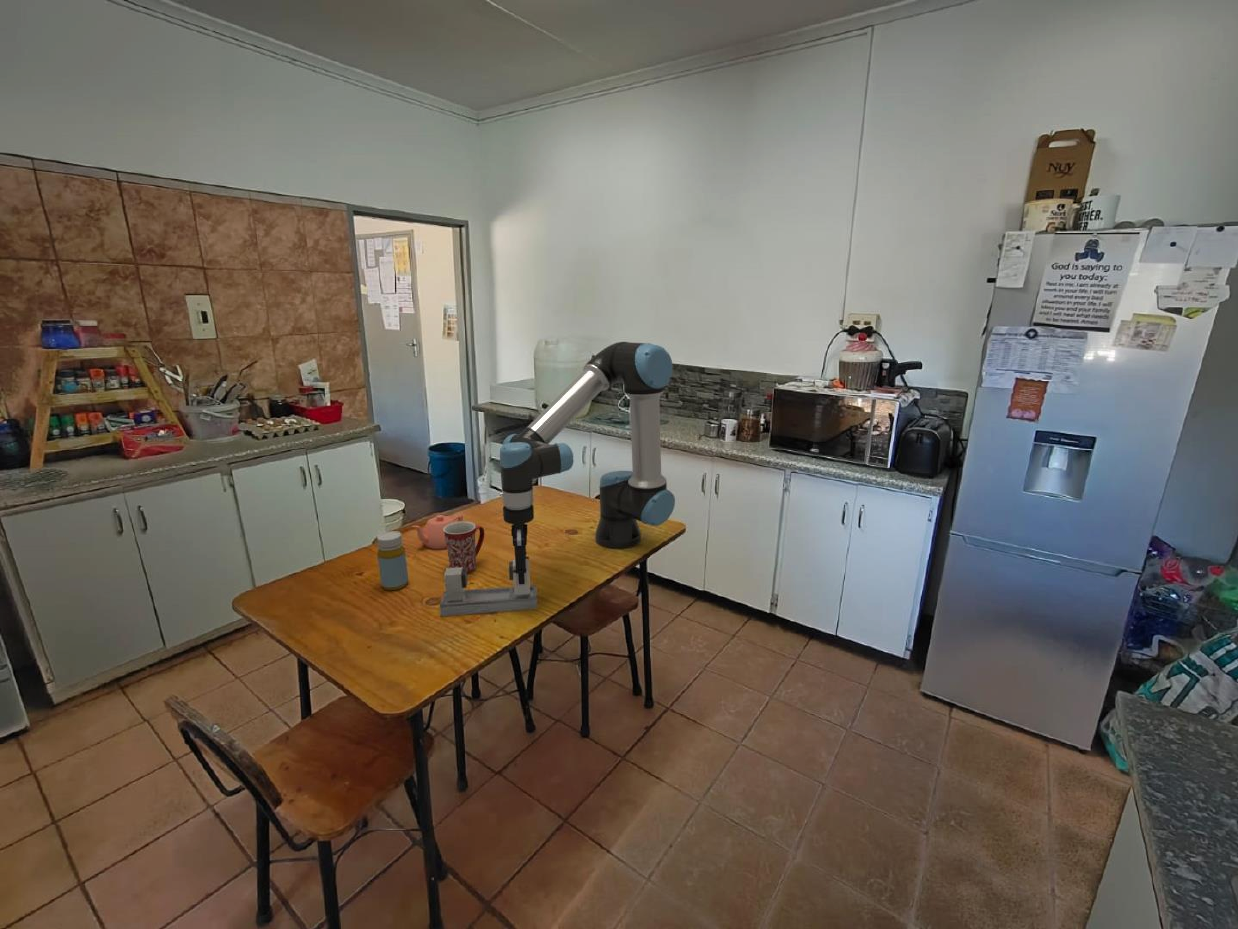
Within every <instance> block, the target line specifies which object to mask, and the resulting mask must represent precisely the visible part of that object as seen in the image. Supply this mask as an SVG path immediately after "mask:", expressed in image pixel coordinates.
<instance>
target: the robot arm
mask: <svg viewBox="0 0 1238 929" xmlns="http://www.w3.org/2000/svg"><path fill="white" fill-rule="evenodd" d="M672 360H673V359H672V358H671V355H670V354H669V352H668V350H666V349H665V348H664V347H663V346H661V345H657V344H653V343H650V342H649V343H647V342H632V341H631V342H630V341H629V342H628V341H619V342H615V343H612V344H610V345H608V346H607V347H605V348H603V349H602V350H600V351H599V352H598V353H597V354H595V355H594V356H593V357H592V358H590V359H589V361H588V362H586V363H585V364H584V366H583V369H582V370H583V371H582V372H581V373H580V374H579V376H577V378H575V379H574V380H573V381H572V382H571V383H570V384H569V385H568V386H567V387H566V388H565V389H564V390H563V391H562V392H561V393H560V394H559V395H557V397H556V398H555V399H554V400H553V401H552V402H551V403H550V404H549V405H548V406H547V407H546V408H545V409H544V410H543V411H542V412H541V413H539V415H538V416H537V417H536V418H535V419H534V420H533V421H532V422H531V423H530V424H529V425H528V426H526V427H525V428H524V430H522V431H521V432H520V433H512V434H510V435H508V436H507V437H506V438H505V439H504V440H503V442H502V446H501V447H500V450H499V467H500V468H499V469H500V481H501V482H500V483H501V492H500V493H499V497H501V498H502V505H503V507H502V514H503V521H504V522H505V523H507V524H509V525H510V524H511V529H510V532H511V536H512V545H513V547H514V559H515V565H516V570H513V573H516V584H517V595H521V594H528V587H527V569H526V559H528V558H529V559H530V557H529V556H527V553H528V552H527V547H526V546H527V545H528V542H527V541H528V523H531V522H532V521H533V520H534V518H535V515H534V514H535V511H534V510H535V508H534V505H533V504H534V488H533V485H534V484H533V483H534V482H533V480H534V479H541V478H543V477H548V476H552V475H557V474H561V473H564V472H566V471H569V470H571V468H573V465H574V461H575V460H574V452H573V450H572V448H571V447H570V446H569V445H568V444H567V443H565V442H559V443H557V442H556V443H555V442H554V443H553V444H550V443H551V442H553V440H554V439H555V438H556V437H557V436H558V435H559V434H560V433H561V432H562V431H563V430H564V429H565V428H566V427H567V426H568V425H570V423H571V422H572V421H573V420H574V419H575V418H576V417H577V416H578V415H579V414H580V413H581V412H582V411H583V410H584V409H585V408H586V407H587V406H588V405H589V403H591V402H592V400H594V399H595V397H597V396H598V394H600V392H602V391H608V389H610V387H611V386H613V385H614V384H615V385H616V384H617V383H623V393H624V394H625V395H626V396H627V397H628V399H629V413H630V414H629V417H630V419H629V420H630V435H631V436H630V438H631V442H630V443H631V463H632V466H631V467H632V471H631V470H615V471H610V472H607V473H603V475H601V477H600V479H599V507H600V508H599V509H600V510H599V514H600V516H599V517H600V518H599V521H598V523H597V526H596V529H595V532H594V534H595V535H594V536H595V538H594V539H595V540H594V541H595V542H596V544H598V545H599V546H601V547H604V548H608V549H615V550H616V549H617V550H618V549H620V550H621V549H623V550H624V549H628V548H633V547H635V546H637V545H638V544H639V543H641V541H642V533H641V529H640V527H639V523H638V522H641V523H642V524H643V525H649V526H653V527H657V526H660V525H663V524H664V523H665V522H667V521H668V519H670V516H671V515H672V513H673V511H674V510H675V505H676V497H675V495H674V494H673V493H672V491H671V490H668V489H667V488H668V487H667V478H666V477H665V476H664V475H663V474H662V455H661V454H662V450H661V448H662V447H661V446H662V444H661V409H660V397H661V396H662V394H664V392H665V391H666V390H665V387H666V386H668V385H669V383H670V381H671V378H672V376H673V371H674V367H673V366H674V365H673V361H672Z"/></svg>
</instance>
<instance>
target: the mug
mask: <svg viewBox="0 0 1238 929" xmlns="http://www.w3.org/2000/svg"><path fill="white" fill-rule="evenodd" d="M443 531H444V534H445V540H446V545H447V548H446V550H447V556H448V562H449V568H457V567H463V569H467V575H469V574H471V573H473V572H474V571H475V570H476V569H477V556H478V555H479V553H480V550H481V547H482V546H483V543H484V539H485V529H484V527H483V526H480V525H477V524H475V523H474V522H471V521H462V522H458V521H455V523H451V524H449V525H447V526H445V527H444V529H443ZM477 531H479V536H478V540H477V544H476V532H477Z"/></svg>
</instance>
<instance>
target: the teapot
mask: <svg viewBox="0 0 1238 929" xmlns="http://www.w3.org/2000/svg"><path fill="white" fill-rule="evenodd" d="M456 520H457V522H463V520H464V515H463V514H457V515H455V516H453V517H451V516H447V515H443V514H438V515H436V516H435V517H432V518H429V519H428V520H427V522H426V523H425V526H424V528H422V527H421V526H420V525H412V526H411V527H412V528H413V529H416V531H417V536H418V539H419V540H420V542H422V543H423V544H424V545H425V546H426V547H427V548H430V549H432V550H445V549H447V545H446V540H445V534H444V531H443V529H444V527H445V526H447V525H449V524H451V523H455V522H456Z"/></svg>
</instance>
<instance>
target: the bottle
mask: <svg viewBox="0 0 1238 929" xmlns="http://www.w3.org/2000/svg"><path fill="white" fill-rule="evenodd" d="M376 541H377V547H378V550H377V560H378V568H379V569H378V570H379V576H380V585H381V587H382V588H383V589H384V590H386V591H393V592H394V591H398V590H402V589H403V588H405V587H406V586H407V585H408V583H409V572H408V565H407V555H406V550H405V547H404V545H403V537H402V533H401V532H400V531H397V530H395V531H394V530H391V531H385V532H382V533H379V534H378V535H377V537H376Z"/></svg>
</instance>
